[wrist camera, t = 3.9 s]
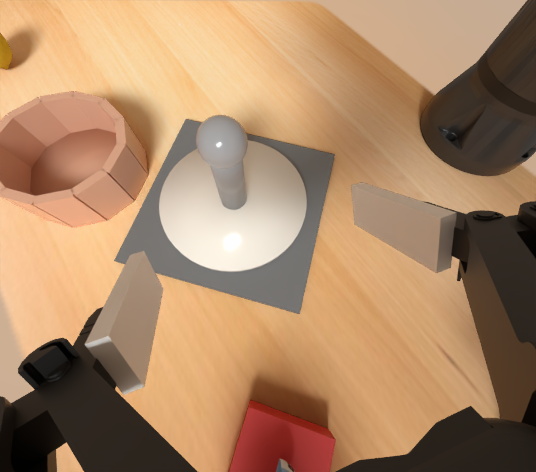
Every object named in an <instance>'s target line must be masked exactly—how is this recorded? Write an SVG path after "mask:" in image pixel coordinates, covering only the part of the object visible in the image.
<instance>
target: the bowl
mask: <svg viewBox="0 0 536 472" xmlns="http://www.w3.org/2000/svg"><path fill="white" fill-rule="evenodd" d="M8 115H9V116H8ZM8 115H5V116H4V118H3V119H2V120H1V121H0V197H2V198H4V199H6V200H8V201H9V202H11V203H13V204H15V205H17V206H19V207H21V208H23V209H25V210H27V211H29V212H31V213H33V214H35V215H37V216H39V217H41V218H43V219H45V220H48V221H52V222H55V223H59V224H62V225H66V226H70V227H79V226H84V225H88V224H93V223H98V222H102V221H107V219H108V220H109V219H110V218H112V217H113V216H114V215H116V214H117V213H118V212H120V211H121V210H123V209H124V208H125V207H127V206H128V205H129V204H131V203H132V202H134V200H136V198H137V196H138V194H139V192H140V190H141V188H142V186H143V184H144V182H145V180H146V178H147V176H148V175H147V174H148V168H147V159H146V151H145V150H144V148H143V146H142V145H141V143H140V142H139V140H138V139H137V137H136V136H135V134H134V132H133V131H132V129H131V128H130V126H129V125H128V123H127V122H126V120H125V119H124V117H123V116H122V115H121V114H120V113H119V112H118V111H117V110H116V109H115V108H114V107H113V106H112V105H111V104H110V103H109V102H108V101H107V100H106V99H104V98H102V97H98V96H93V95H89V94H85V93H81V92H77V91H75V92H74V91H71V92H65V93H58V94H52V95H45V96H40V98H39V97H37V98H35V99H34V100H32V101H30V102H28V103H26V104H24V105H22V106H21V107H19V108H17V109H15V110H13V111H11V112H9V113H8ZM133 199H134V200H133Z"/></svg>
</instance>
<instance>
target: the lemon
mask: <svg viewBox="0 0 536 472" xmlns="http://www.w3.org/2000/svg"><path fill="white" fill-rule="evenodd" d="M11 60H12V52H11V49H10V46H9V44H8V42H7V41H6V39H5V38H4V37H3V36H2V34H1V33H0V68H3V69H8V68H9V64H10V62H11Z"/></svg>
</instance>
